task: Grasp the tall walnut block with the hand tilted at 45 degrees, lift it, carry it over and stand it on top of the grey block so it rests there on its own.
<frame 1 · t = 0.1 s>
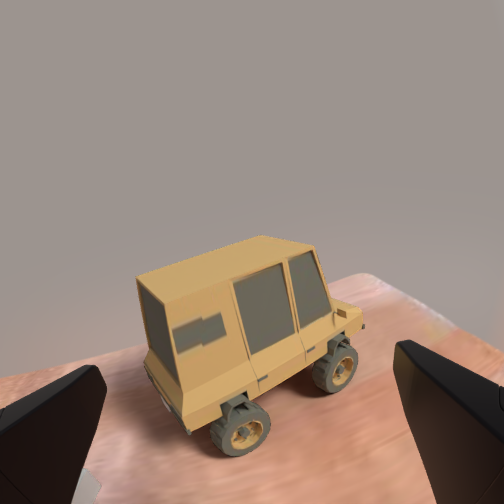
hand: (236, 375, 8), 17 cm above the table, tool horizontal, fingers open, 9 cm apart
toy car: (267, 399, 29), on the table
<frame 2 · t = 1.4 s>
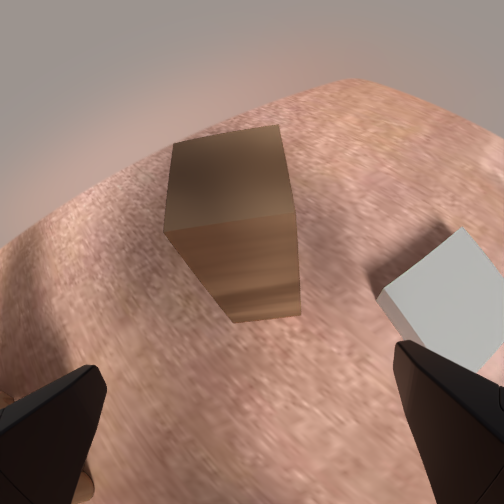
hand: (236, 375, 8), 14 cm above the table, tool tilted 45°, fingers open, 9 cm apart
grey block: (448, 314, 21), on the table
wooden toy: (36, 442, 20), on the table
walnut block: (264, 288, 24), on the table
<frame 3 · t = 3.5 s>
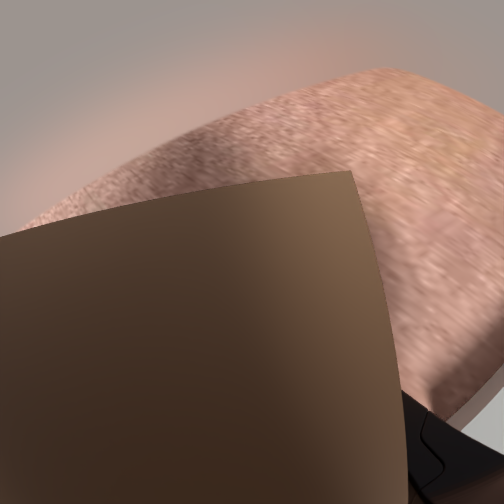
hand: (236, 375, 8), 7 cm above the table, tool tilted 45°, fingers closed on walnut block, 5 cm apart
walnut block: (266, 415, 13), on the table, touching gripper
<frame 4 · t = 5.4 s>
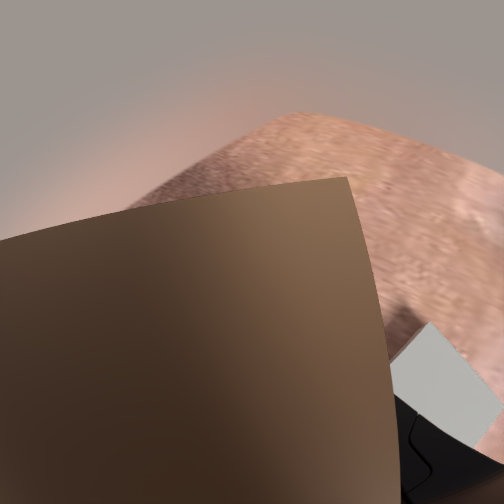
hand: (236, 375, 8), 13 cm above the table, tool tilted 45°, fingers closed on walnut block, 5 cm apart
grey block: (412, 416, 18), on the table
walnut block: (265, 415, 14), point 7 cm above the table, touching gripper
when the fingers open (11 cm above the table, at t = 7.0 s): walnut block drops 1 cm, resting on grey block.
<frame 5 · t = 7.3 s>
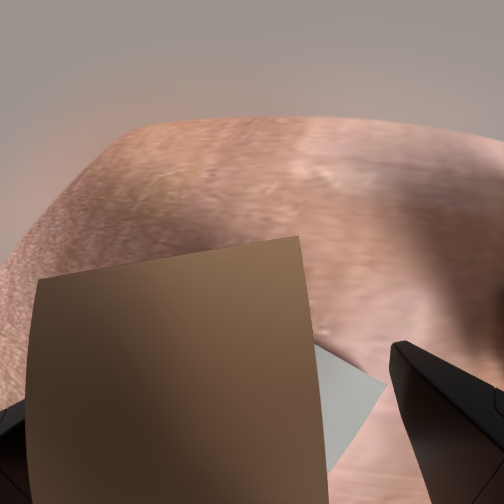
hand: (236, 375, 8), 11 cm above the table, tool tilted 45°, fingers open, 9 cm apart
grey block: (274, 412, 18), on the table, touching walnut block
walnut block: (271, 412, 15), point 3 cm above the table, touching grey block
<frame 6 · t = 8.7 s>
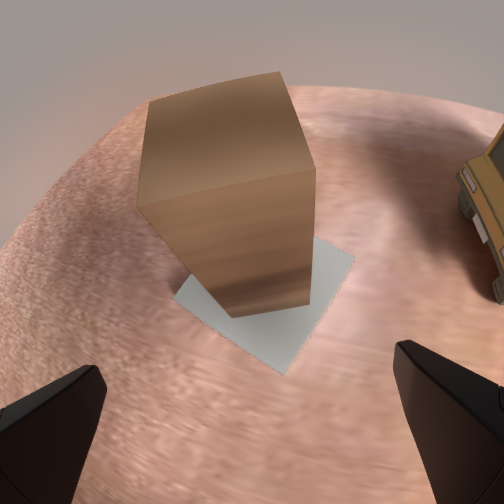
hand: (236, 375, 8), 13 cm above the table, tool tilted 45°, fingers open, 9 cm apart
grey block: (267, 293, 24), on the table
walnut block: (264, 275, 21), point 3 cm above the table
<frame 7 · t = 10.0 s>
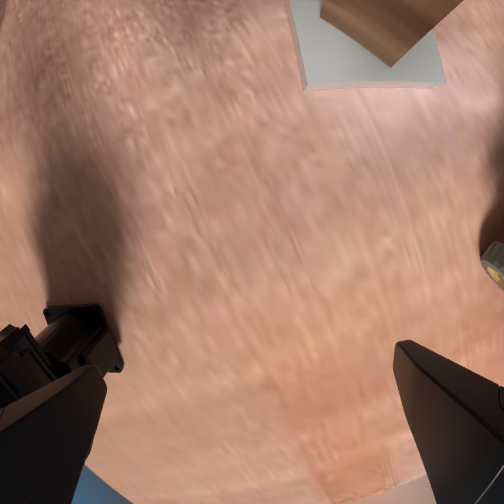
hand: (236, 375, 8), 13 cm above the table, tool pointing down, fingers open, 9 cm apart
grey block: (355, 30, 17), on the table, touching walnut block
walnut block: (377, 17, 14), point 3 cm above the table, touching grey block
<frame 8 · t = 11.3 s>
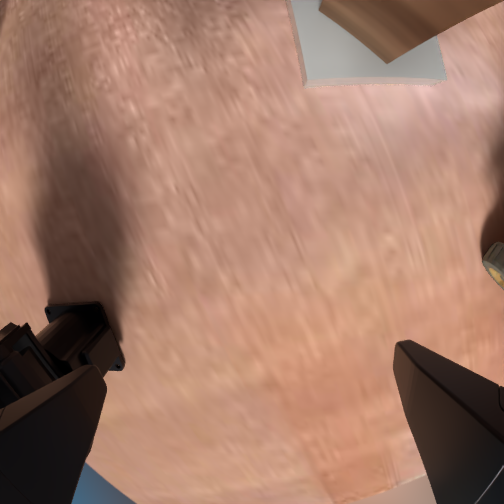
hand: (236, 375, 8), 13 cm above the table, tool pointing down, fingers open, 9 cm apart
grey block: (356, 27, 16), on the table
walnut block: (375, 12, 13), point 2 cm above the table
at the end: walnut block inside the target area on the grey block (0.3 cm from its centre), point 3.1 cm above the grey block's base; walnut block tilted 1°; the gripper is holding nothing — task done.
